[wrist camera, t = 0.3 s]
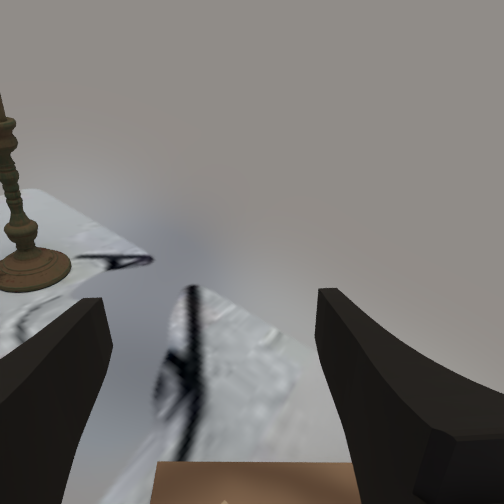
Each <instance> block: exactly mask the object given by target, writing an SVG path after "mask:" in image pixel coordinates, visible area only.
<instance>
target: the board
mask: <svg viewBox="0 0 504 504" xmlns="http://www.w3.org/2000/svg"><path fill="white" fill-rule="evenodd" d="M224 500H225V501H226V502H227V503H228V504H361V499H360V495H359V490H358V486H357V482H356V477H355V473H354V469H353V464H352V463H308V462H157V467H156V473H155V479H154V484H153V490H152V496H151V501H150V504H221V503H222V502H223V501H224Z"/></svg>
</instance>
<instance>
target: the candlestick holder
mask: <svg viewBox="0 0 504 504" xmlns="http://www.w3.org/2000/svg"><path fill="white" fill-rule="evenodd" d="M15 127H16V121H15V120H14V119H13V118H9V117H6V116H5V112H4V107H3V104H2V99H1V95H0V182H1V183H2V184H3V185H2V186H3V189H4V191H5V193H4V194H5V197H6V198H7V199H6V203H7V204H8V207H9V208H10V211H11V217H10V222H9V223H7V224H6V226H5V227H4V232H5V233H6V234H7V236H8V238H9V239H10V240H11V241H12V242H14V243H16V248H17V250H16V251H15V252H13V253H11V254H10V255H8V256H7V257H5V258H4V259H3V260H1V261H0V290H3V291H8V292H29V291H34V290H39V289H42V288H45V287H48V286H51V285H53V284H55V283H57V282H59V281H60V280H61V279H63V278H64V277H65V276H66V275H67V274H68V273H69V272H70V269H71V261H70V259H69V258H68V257H67V255H65V254H63V253H61V252H58V251H55V250H50V249H46V248H40V247H36V246H35V243H34V239H35V238H36V237H37V233H38V232H37V229H38V224H37V223H36V222H35V221H33V220H30V219H29V218H28V217H27V216H26V214H25V212H24V211H23V202H22V201H23V200H22V198H21V197H20V196H21V193H20V190H19V185H18V183H17V182H18V179H19V173H18V171H17V170H16V167H15V165H14V164H15V162H14V161H13V160H12V158H11V156H10V154H11V152H13V151H14V150H15V149H16V148H17V145H18V141H17V139H16V137H15V136H14V135H13V134H12V130H13V129H14V128H15Z"/></svg>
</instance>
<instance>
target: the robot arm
mask: <svg viewBox="0 0 504 504" xmlns="http://www.w3.org/2000/svg"><path fill="white" fill-rule="evenodd" d="M316 314H317V315H316V325H315V341H316V346H317V351H318V355H319V359H320V363H321V366H322V369H323V372H324V375H325V378H326V381H327V383H328V386H329V389H330V392H331V395H332V397H333V400H334V403H335V406H336V409H337V411H338V414H339V417H340V420H341V423H342V426H343V429H344V432H345V436H346V440H347V444H348V448H349V452H350V456H351V460H352V464H353V469H354V473H355V477H356V482H357V486H358V490H359V495H360V499H361V504H504V394H502V393H499V392H497V391H495V390H492V389H490V388H487V387H485V386H483V385H481V384H478V383H476V382H474V381H471V380H470V379H467V378H465V377H463V376H461V375H459V374H457V373H455V372H453V371H451V370H449V369H447V368H445V367H443V366H442V365H440V364H438V363H436V362H434V361H432V360H431V359H429V358H427V357H425V356H424V355H422V354H421V353H419V352H417V351H416V350H414V349H413V348H411V347H409V346H408V345H406V344H405V343H403V342H402V341H400V340H399V339H398V338H396V337H395V336H394V335H392V334H391V333H389V332H388V331H387V330H385V329H384V328H383V327H381V326H380V325H379V324H378V323H376V322H375V321H374V320H373V319H372V318H370V317H369V316H368V315H367V314H366V313H364V312H363V311H362V310H361V309H360V308H358V306H356V305H355V304H354V303H353V302H352V301H351V300H349V298H347V297H346V296H345V295H344V294H343V293H342V292H341V291H339V290H338V289H337V288H323V289H322V288H321V289H318V301H317V313H316ZM112 349H113V343H112V339H111V335H110V330H109V326H108V322H107V317H106V313H105V309H104V304H103V300H102V298H83V299H81V300H80V301H78V302H77V303H76V304H74V305H73V306H72V307H70V308H69V309H68V310H66V311H65V312H64V313H63V314H61V315H60V316H59V317H57V318H56V319H55V320H54V321H52V322H51V323H50V324H48V325H47V326H46V327H45V328H43V329H42V330H41V331H39V332H38V333H37V334H35V335H34V336H33V337H31V338H30V339H28V340H27V341H26V342H24V343H23V344H21V345H20V346H19V347H17V348H16V349H14V350H13V351H12V352H10V353H9V354H7V355H6V356H4V357H3V358H1V359H0V504H61V503H62V499H63V495H64V491H65V488H66V484H67V480H68V477H69V473H70V470H71V466H72V463H73V459H74V456H75V453H76V449H77V447H78V444H79V441H80V438H81V435H82V433H83V430H84V428H85V426H86V423H87V420H88V418H89V416H90V413H91V410H92V408H93V406H94V403H95V401H96V398H97V396H98V393H99V391H100V388H101V386H102V383H103V381H104V378H105V376H106V373H107V369H108V365H109V361H110V357H111V353H112Z"/></svg>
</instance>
